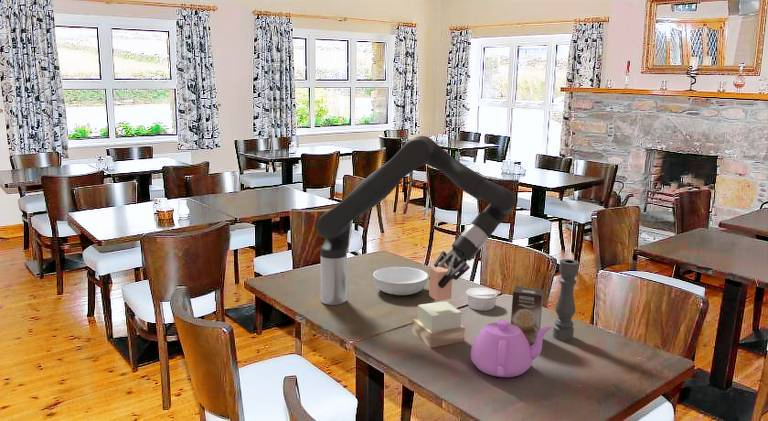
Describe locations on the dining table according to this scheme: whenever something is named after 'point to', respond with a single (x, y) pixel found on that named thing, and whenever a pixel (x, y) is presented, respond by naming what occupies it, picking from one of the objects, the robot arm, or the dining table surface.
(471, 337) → the dining table surface
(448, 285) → the terracotta block
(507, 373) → the teapot
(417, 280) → the serving bowl
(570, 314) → the candle holder
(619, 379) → the dining table surface
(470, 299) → the ramekin
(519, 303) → the coffee box
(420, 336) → the tower base block
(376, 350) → the dining table surface
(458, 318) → the tower top block
